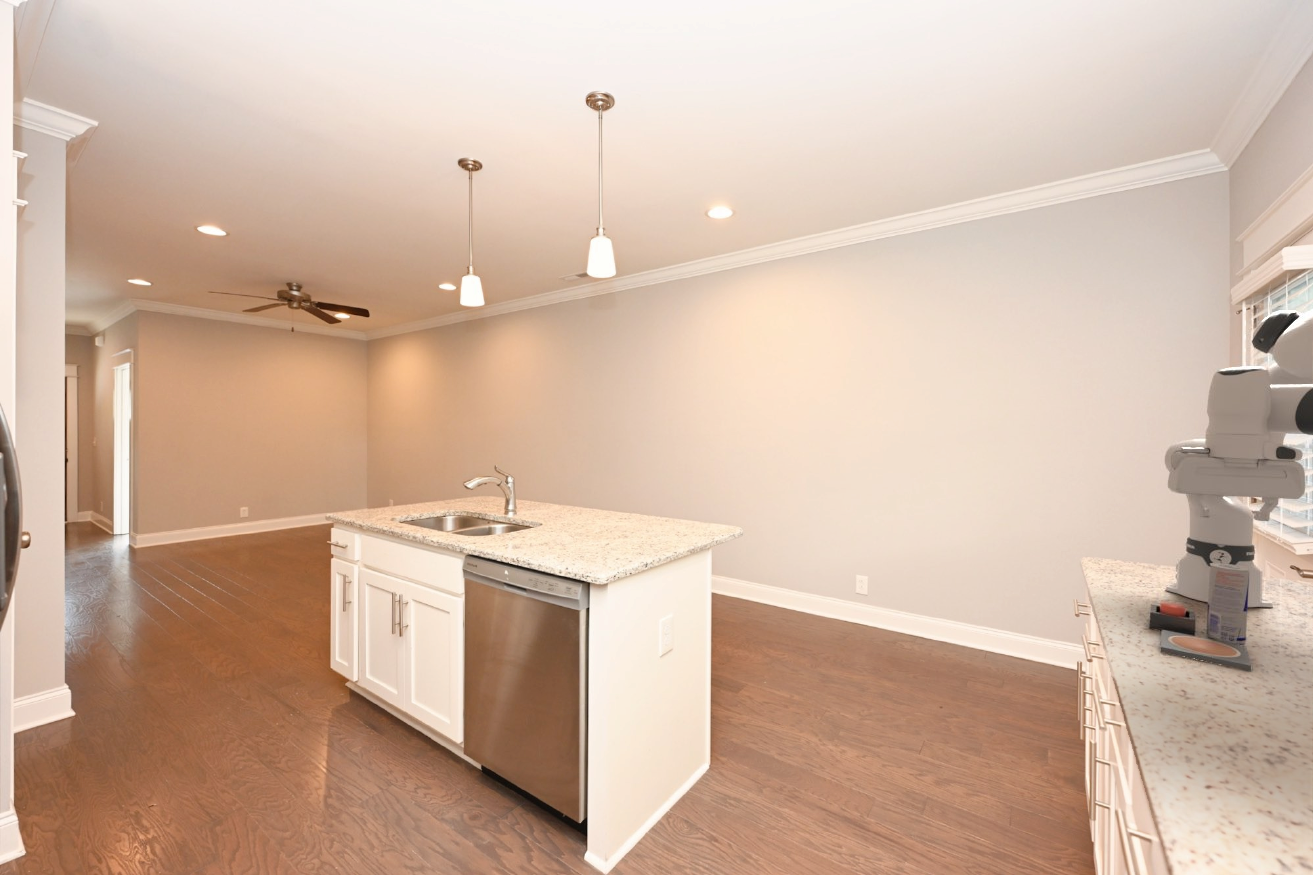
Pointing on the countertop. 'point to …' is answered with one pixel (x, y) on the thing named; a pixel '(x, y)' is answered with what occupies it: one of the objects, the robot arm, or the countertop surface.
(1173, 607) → the button
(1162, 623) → the button housing
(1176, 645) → the picture board
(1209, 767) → the countertop surface
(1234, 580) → the beverage can
